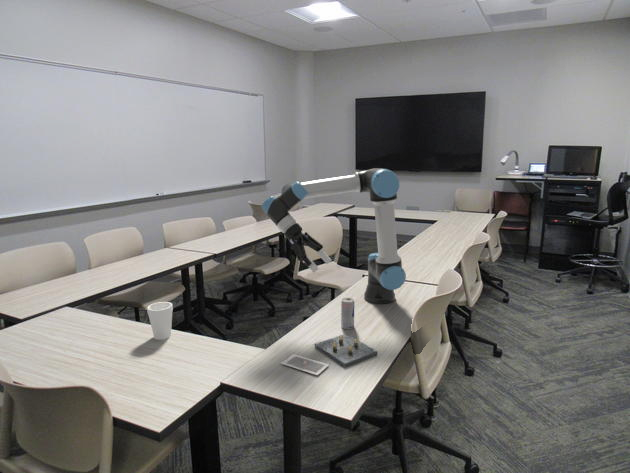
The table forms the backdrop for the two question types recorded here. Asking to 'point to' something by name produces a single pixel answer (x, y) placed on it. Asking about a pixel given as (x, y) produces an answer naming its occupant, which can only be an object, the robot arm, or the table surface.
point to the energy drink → (347, 313)
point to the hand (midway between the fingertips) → (323, 266)
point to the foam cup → (160, 319)
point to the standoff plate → (345, 350)
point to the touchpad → (305, 364)
